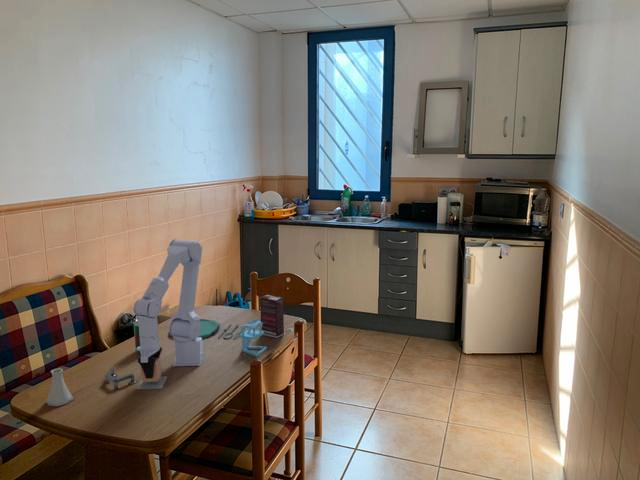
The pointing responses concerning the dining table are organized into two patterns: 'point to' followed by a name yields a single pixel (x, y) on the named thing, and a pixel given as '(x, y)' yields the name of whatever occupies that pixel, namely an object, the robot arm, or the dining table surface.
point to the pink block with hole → (156, 372)
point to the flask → (58, 390)
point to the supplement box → (272, 316)
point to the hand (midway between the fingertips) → (151, 374)
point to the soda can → (137, 335)
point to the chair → (252, 337)
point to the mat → (152, 384)
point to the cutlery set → (214, 329)
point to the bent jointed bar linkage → (111, 375)
